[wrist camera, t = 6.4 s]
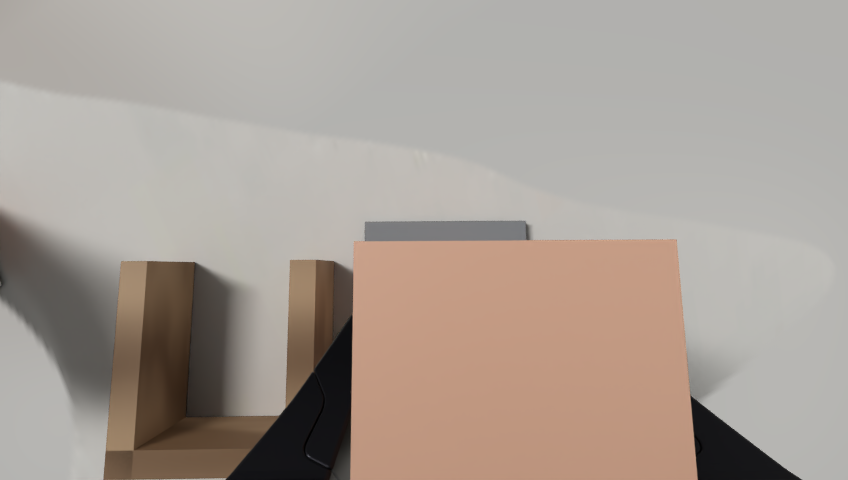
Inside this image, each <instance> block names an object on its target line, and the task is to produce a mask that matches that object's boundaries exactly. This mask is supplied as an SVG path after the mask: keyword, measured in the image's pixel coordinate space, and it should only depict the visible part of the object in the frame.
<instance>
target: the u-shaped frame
mask: <svg viewBox="0 0 848 480" xmlns="http://www.w3.org/2000/svg"><path fill="white" fill-rule="evenodd" d="M194 269H195V262H158V261H121V269H120V282H119V294H118V306H117V319H116V331H115V343H114V356H113V368H112V380H111V393H110V405H109V417H108V430H107V442H106V454H105V467H104V479H103V480H135V479H199V478H227V477H228V476H229V475H230V474H231V473H232V472H233V471H234V469H235V468H236V467H237V466H238V465H239V463H240V462H241V461H242V460H243V459H244V458H245V456H246V455H247V454H248V453H249V452H250V450H251V449H252V448H253V447H254V446H255V444H256V443H257V442H258V441H259V440H260V439H261V437H262V436H263V435H264V434H265V433H266V431H267V430H268V429H269V428H270V427H271V425H272V424H273V423H274V422H275V421H276V419H277V418H278V417H279V416H236V417H186V404H187V387H188V370H189V353H190V336H191V319H192V302H193V286H194ZM333 296H334V261H324V260H290V282H289V314H288V346H287V378H286V407H287V406H288V405H289V403H290V402H291V401H292V399H293V398H294V397H295V395H296V394H297V392H298V391H299V390H300V388H301V387H302V386H303V384H304V383H305V381H306V380H307V378H308V377H309V375H310V374H311V373H312V372H314V368H315V367H316V366H317V364H318V363H319V361H320V360H321V358H322V357H323V355H324V354H325V353H326V351H327V350H328V348H329V347H330V345H331V344H332V342H333Z"/></svg>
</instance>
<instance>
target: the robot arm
mask: <svg viewBox="0 0 848 480" xmlns="http://www.w3.org/2000/svg"><path fill="white" fill-rule="evenodd" d="M352 336H353V313H352V315H351V316H350V318H349V319H348V321H347V322H346V324H345V325H344V326H343V328H342V329H341V331H340V332H339V334H338V335H337V337H336V338H335V339H334V341H333V342H332V344H331V345H330V347H329V348H328V350H327V351H326V353H325V354H324V355H323V357H322V358H321V360H320V361H319V363H318V364H317V366H316V367H315V368H314V372H312V373H311V374H310V375H309V377H308V378H307V380H306V381H305V383H304V384H303V386H302V387H301V388H300V390H299V391H298V392H297V394H296V395H295V397H294V398H293V399H292V401H291V402H290V403H289V405H288V406H287V407H286V408H285V410H284V411H283V412H282V413H281V414H280V416H279V417H278V418H277V419H276V421H275V422H274V423H273V424H272V425H271V427H270V428H269V429H268V430H267V431H266V433H265V434H264V435H263V436H262V437H261V439H260V440H259V441H258V442H257V443H256V444H255V446H254V447H253V448H252V449H251V450H250V452H249V453H248V454H247V455H246V456H245V458H244V459H243V460H242V461H241V462H240V463H239V465H238V466H237V467H236V468H235V469H234V471H233V472H232V473H231V474H230V475H229V476H228V477H227V479H226V480H350V468H351V402H352ZM690 398H691V410H692V421H693V432H694V444H695V455H696V467H697V478H698V480H801V479H800V478H799V477H797V476H795V475H794V474H793V473H791V472H789V471H788V470H787V469H785V468H783V467H782V466H781V465H780V464H778V463H777V462H776V461H774V460H773V459H772V458H770V457H769V456H768V455H766V454H765V453H764V452H763V451H761V450H760V449H759V448H757V447H756V446H754V445H753V444H752V443H751V442H750V441H748V440H747V439H745V438H744V437H743V436H742V435H740V434H739V433H738V432H736V431H735V430H734V429H732V428H731V427H730V426H729V425H727V424H726V423H725V422H723V421H722V420H721V419H719V418H718V417H717V416H715V415H714V414H713V413H712V412H711V411H709V410H708V409H707V408H705V407H704V406H703V405H702V404H700V403H699V402H698V401H697V400H695V399H694V398H693V397H692V396H690Z"/></svg>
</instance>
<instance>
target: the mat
mask: <svg viewBox="0 0 848 480" xmlns="http://www.w3.org/2000/svg"><path fill="white" fill-rule="evenodd" d="M513 240H526V222H525V221H421V222H365V241H513Z"/></svg>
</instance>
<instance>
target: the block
mask: <svg viewBox="0 0 848 480" xmlns="http://www.w3.org/2000/svg"><path fill="white" fill-rule="evenodd" d="M350 480H698V478H697V467H696V455H695V444H694V432H693V421H692V410H691V398H690V387H689V376H688V364H687V353H686V341H685V330H684V319H683V307H682V296H681V285H680V273H679V262H678V251H677V240H513V241H354V270H353V336H352V402H351V468H350Z"/></svg>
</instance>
